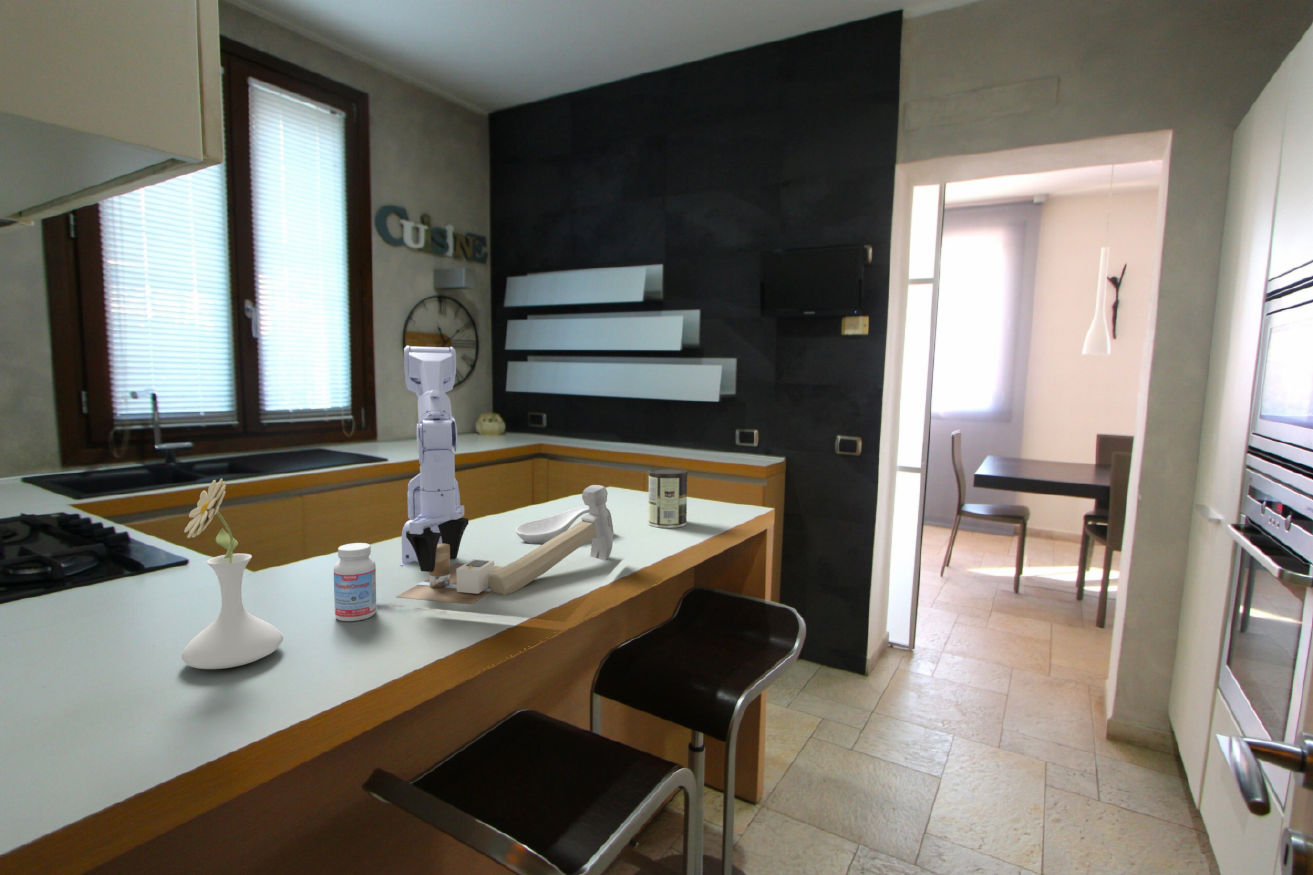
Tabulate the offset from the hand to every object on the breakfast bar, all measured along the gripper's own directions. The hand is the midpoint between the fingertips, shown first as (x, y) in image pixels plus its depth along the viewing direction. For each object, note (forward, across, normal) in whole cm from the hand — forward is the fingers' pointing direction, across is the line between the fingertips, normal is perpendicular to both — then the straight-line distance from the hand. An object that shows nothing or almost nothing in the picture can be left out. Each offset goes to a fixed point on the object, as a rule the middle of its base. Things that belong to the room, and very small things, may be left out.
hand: (439, 564), depth 112 cm
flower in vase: (+5, -31, +12) cm, 34 cm away
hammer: (+5, +12, -17) cm, 22 cm away
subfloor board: (+5, +3, -3) cm, 7 cm away
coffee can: (+5, +62, -29) cm, 69 cm away
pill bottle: (+5, -13, +7) cm, 16 cm away
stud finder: (+4, 0, -7) cm, 8 cm away
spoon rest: (+6, +41, -8) cm, 42 cm away
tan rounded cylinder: (+4, 0, 0) cm, 4 cm away
